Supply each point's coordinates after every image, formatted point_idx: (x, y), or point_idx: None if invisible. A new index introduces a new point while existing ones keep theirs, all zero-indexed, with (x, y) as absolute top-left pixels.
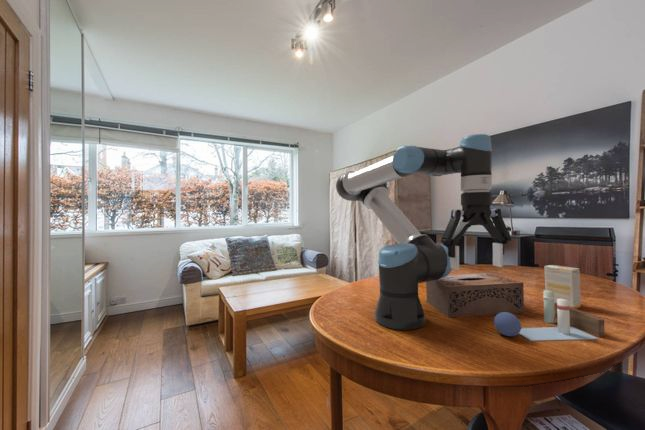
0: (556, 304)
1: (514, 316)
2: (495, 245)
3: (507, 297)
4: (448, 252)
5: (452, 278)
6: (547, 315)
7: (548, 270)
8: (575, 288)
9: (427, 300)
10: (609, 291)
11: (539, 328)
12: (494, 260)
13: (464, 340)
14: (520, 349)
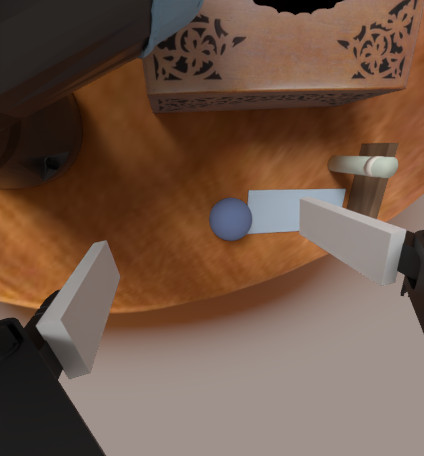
0: (386, 148)
1: (243, 233)
2: (374, 248)
3: (326, 100)
4: (40, 313)
5: None
6: (338, 168)
7: None
8: None
9: None
10: None
11: (293, 193)
12: (313, 213)
13: (140, 230)
14: (211, 256)
